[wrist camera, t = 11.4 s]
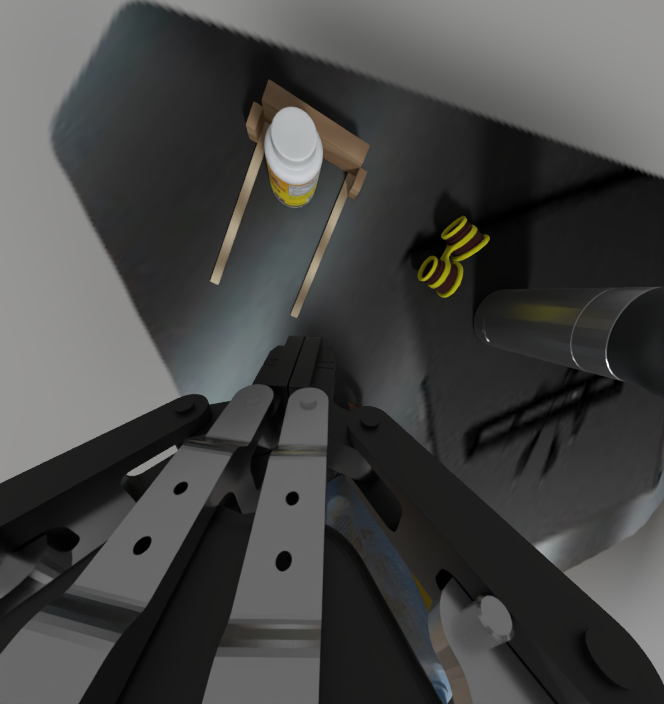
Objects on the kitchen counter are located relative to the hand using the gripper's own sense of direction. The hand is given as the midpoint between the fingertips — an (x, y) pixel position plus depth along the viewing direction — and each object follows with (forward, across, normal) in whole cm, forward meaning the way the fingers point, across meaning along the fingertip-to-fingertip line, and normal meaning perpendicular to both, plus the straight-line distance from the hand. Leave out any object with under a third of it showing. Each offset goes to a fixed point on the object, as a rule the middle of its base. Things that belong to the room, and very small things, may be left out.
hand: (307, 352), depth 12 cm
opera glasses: (+29, -15, +2) cm, 33 cm away
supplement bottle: (+27, +6, -7) cm, 29 cm away
